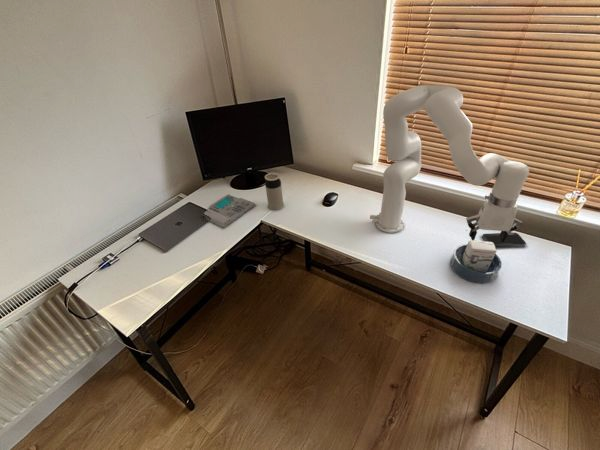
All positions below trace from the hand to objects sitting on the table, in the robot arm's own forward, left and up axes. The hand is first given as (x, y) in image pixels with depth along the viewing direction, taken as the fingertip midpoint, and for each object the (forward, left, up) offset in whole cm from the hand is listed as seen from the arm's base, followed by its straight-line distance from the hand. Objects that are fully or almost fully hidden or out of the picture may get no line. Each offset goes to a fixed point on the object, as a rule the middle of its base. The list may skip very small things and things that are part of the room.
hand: (486, 238), depth 110 cm
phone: (+16, +18, -16) cm, 29 cm away
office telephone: (-114, +26, -16) cm, 118 cm away
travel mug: (-89, +33, -16) cm, 96 cm away
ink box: (0, 0, -15) cm, 15 cm away
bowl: (0, 0, -15) cm, 15 cm away
